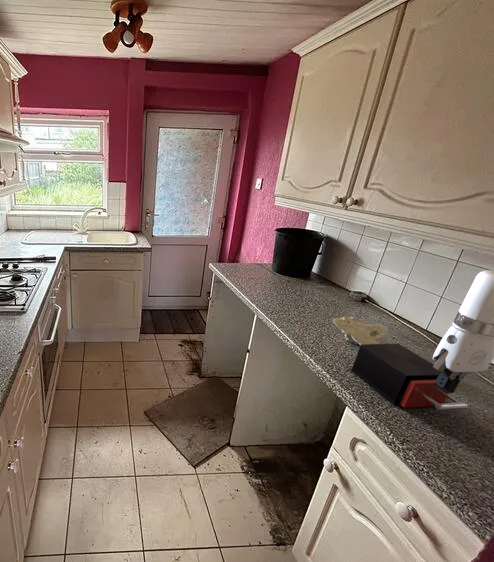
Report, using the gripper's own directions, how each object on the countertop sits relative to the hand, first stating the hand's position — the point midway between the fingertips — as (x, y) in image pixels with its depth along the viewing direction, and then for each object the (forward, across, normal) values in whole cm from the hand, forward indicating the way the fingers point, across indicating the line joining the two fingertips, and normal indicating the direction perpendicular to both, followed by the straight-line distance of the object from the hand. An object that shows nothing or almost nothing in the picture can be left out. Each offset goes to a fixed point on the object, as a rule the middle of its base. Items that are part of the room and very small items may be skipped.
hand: (443, 389), depth 77 cm
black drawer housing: (+9, 0, +12) cm, 15 cm away
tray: (+8, 0, +6) cm, 10 cm away
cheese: (+9, +8, +33) cm, 35 cm away
